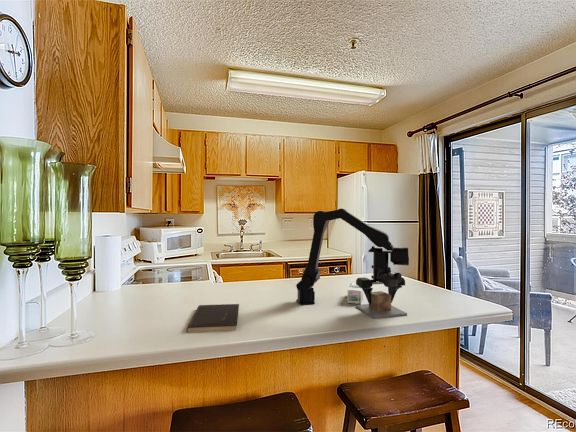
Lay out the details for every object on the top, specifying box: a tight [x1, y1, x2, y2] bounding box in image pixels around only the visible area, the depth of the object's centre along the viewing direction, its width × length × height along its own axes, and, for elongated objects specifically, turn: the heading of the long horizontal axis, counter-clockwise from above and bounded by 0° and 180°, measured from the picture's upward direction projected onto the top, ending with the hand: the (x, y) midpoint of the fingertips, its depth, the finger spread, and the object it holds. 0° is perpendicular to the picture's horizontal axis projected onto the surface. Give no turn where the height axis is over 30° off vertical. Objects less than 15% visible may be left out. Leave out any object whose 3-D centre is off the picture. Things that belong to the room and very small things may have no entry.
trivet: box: [355, 303, 408, 319], centre depth 120 cm, size 14×14×1 cm
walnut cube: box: [368, 290, 392, 312], centre depth 120 cm, size 6×6×6 cm
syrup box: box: [347, 282, 364, 305], centre depth 136 cm, size 6×6×14 cm
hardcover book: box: [185, 303, 240, 333], centre depth 110 cm, size 16×23×2 cm
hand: (380, 303), depth 120 cm, fingers open, 9 cm apart
